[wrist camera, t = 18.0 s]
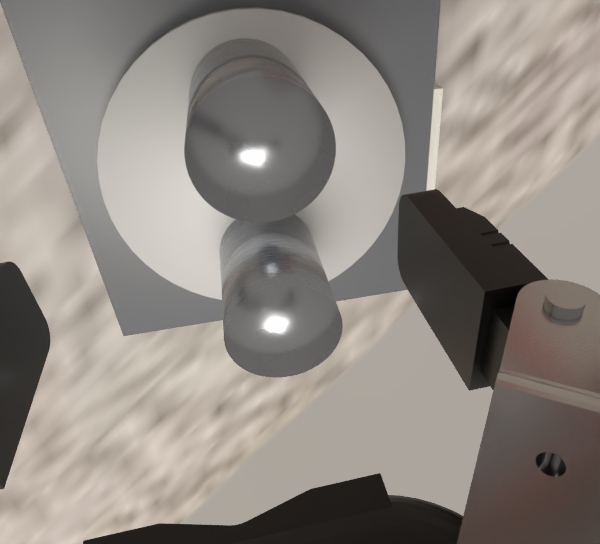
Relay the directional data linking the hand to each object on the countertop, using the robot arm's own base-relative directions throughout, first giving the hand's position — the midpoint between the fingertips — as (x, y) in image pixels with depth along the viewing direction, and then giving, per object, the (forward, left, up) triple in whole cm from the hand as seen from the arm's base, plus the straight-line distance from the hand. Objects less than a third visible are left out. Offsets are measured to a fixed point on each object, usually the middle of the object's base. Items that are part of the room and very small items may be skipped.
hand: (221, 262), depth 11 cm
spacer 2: (+7, +1, -11) cm, 13 cm away
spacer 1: (0, +1, -11) cm, 11 cm away
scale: (+3, +2, -16) cm, 16 cm away
